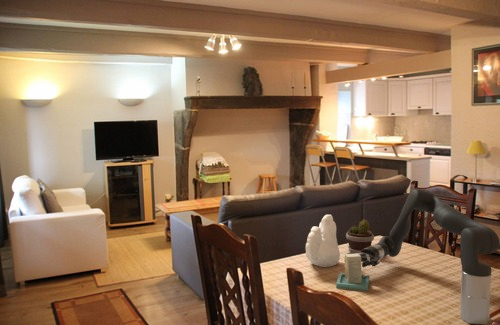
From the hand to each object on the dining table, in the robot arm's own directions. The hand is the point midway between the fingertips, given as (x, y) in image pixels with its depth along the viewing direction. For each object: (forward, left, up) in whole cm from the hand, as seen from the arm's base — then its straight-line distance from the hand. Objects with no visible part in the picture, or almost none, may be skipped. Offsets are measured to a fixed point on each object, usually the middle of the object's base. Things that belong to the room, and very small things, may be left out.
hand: (354, 262), depth 184 cm
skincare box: (-1, 0, -9) cm, 9 cm away
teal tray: (-1, 0, -9) cm, 9 cm away
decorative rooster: (+18, +18, -10) cm, 28 cm away
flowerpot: (+44, 0, -10) cm, 45 cm away
